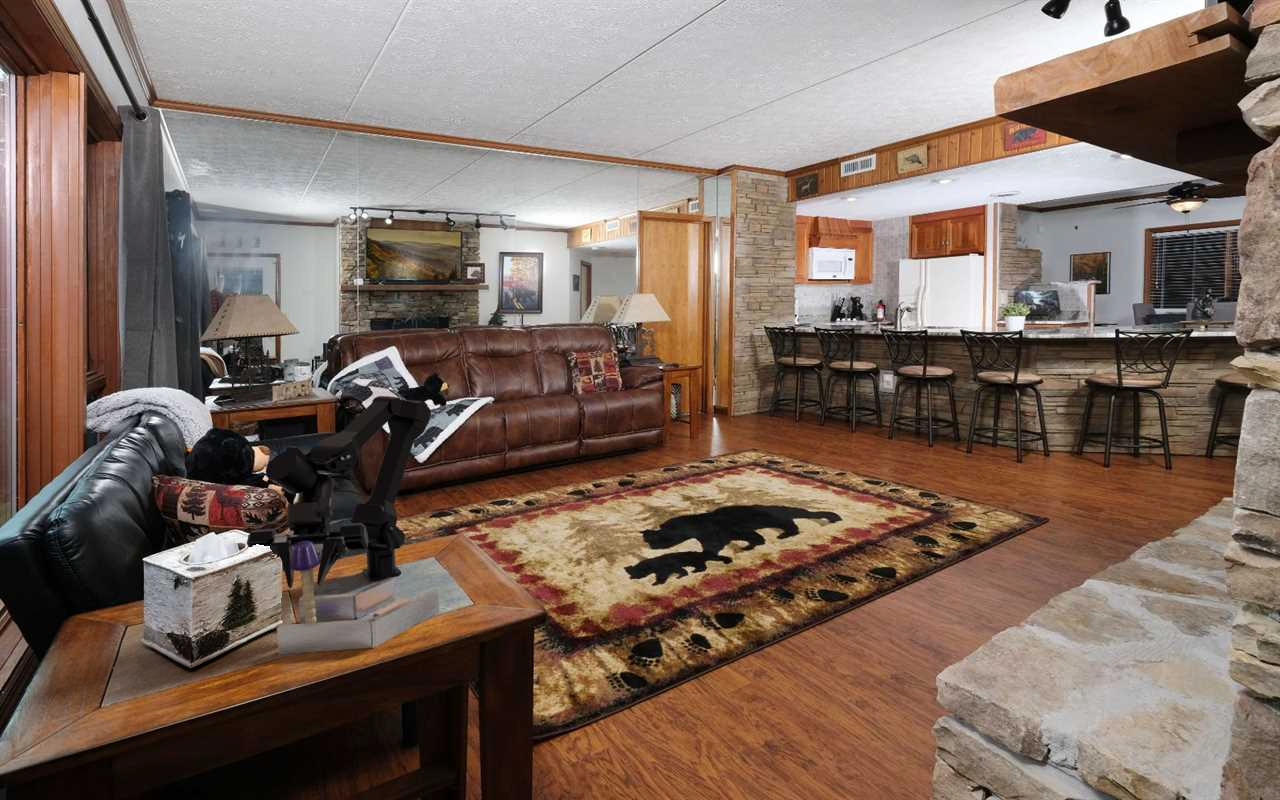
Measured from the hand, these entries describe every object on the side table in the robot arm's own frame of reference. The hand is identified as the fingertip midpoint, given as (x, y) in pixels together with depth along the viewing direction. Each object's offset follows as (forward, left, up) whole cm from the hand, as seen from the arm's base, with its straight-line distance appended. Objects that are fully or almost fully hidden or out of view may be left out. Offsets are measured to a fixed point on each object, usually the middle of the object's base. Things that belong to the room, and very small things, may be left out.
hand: (304, 585), depth 116 cm
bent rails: (+1, +9, -10) cm, 13 cm away
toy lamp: (-1, +1, -10) cm, 10 cm away
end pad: (-1, +17, -10) cm, 19 cm away
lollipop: (-20, +5, -10) cm, 23 cm away
